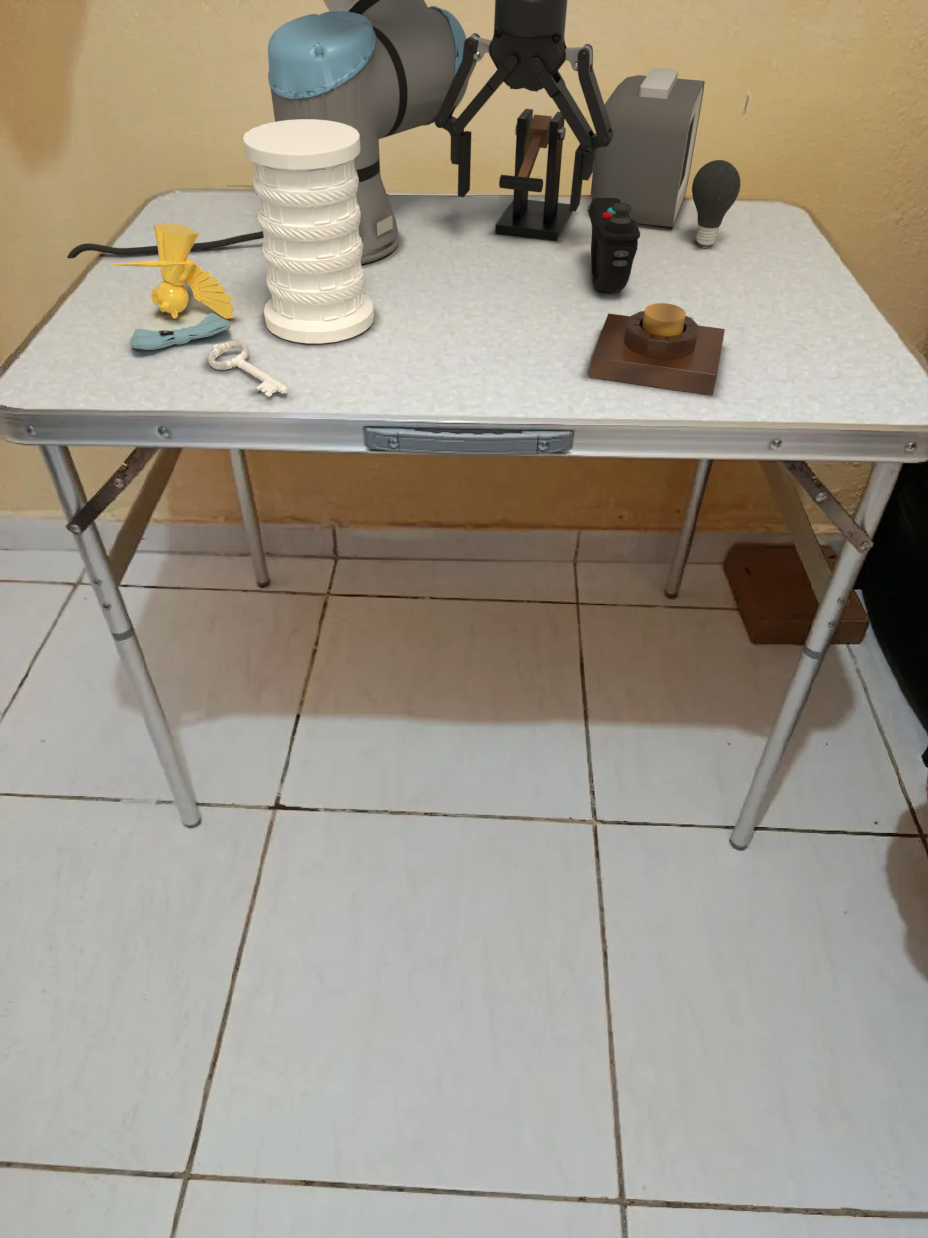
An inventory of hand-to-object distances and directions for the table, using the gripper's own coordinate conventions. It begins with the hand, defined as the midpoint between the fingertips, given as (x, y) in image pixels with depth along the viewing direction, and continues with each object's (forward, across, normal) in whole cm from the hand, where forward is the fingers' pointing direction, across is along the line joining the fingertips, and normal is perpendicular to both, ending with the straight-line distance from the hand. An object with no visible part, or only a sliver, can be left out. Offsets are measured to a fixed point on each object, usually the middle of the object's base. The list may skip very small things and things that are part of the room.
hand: (518, 200), depth 109 cm
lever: (-3, 0, +5) cm, 6 cm away
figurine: (-3, -31, -29) cm, 43 cm away
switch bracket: (+6, 0, +9) cm, 11 cm away
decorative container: (+6, -15, -25) cm, 30 cm away
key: (+5, -18, -41) cm, 45 cm away
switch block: (+5, +20, -24) cm, 32 cm away
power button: (+2, +20, -24) cm, 32 cm away
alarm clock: (+6, +12, +19) cm, 23 cm away
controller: (+6, +12, -7) cm, 15 cm away
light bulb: (+6, +22, +8) cm, 24 cm away
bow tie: (+5, -29, -32) cm, 43 cm away
